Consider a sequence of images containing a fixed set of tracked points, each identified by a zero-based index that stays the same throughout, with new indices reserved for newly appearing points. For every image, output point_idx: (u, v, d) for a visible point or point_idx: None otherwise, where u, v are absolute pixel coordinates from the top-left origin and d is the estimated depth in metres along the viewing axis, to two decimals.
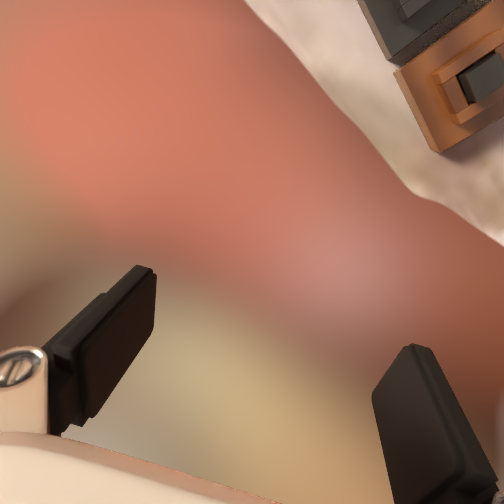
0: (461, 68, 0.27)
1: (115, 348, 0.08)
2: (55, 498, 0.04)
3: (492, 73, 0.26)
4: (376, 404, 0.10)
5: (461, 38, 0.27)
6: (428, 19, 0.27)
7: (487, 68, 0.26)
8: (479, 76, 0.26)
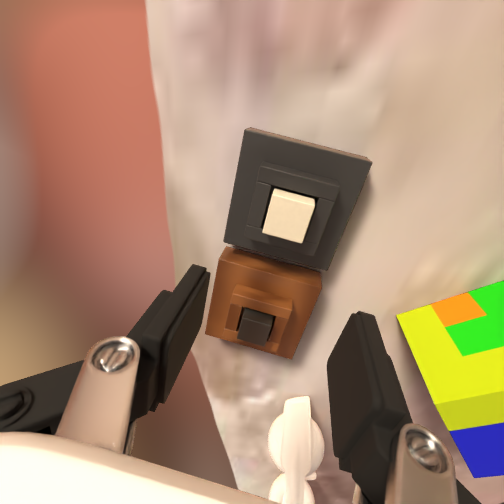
0: (249, 306, 0.26)
1: (182, 340, 0.09)
2: (55, 498, 0.04)
3: (257, 333, 0.26)
4: (329, 369, 0.11)
5: (272, 283, 0.27)
6: (265, 246, 0.26)
7: (257, 327, 0.26)
8: (249, 327, 0.26)
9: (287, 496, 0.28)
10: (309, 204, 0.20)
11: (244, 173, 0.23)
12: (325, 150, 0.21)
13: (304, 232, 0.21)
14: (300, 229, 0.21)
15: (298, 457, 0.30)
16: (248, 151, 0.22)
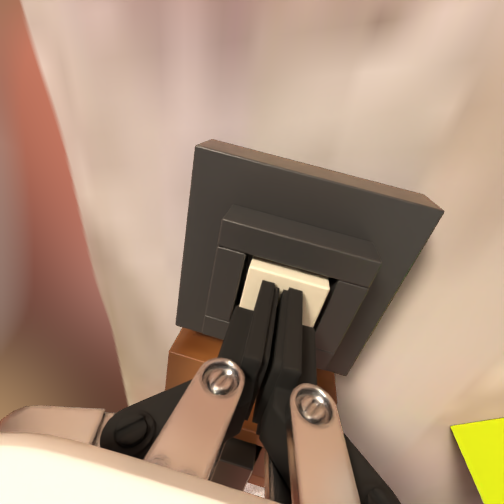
0: None
1: None
2: (55, 498, 0.04)
3: (231, 475, 0.16)
4: None
5: None
6: None
7: (229, 469, 0.16)
8: (216, 467, 0.16)
9: None
10: (319, 286, 0.11)
11: (200, 223, 0.13)
12: (351, 187, 0.11)
13: None
14: None
15: None
16: (205, 186, 0.12)
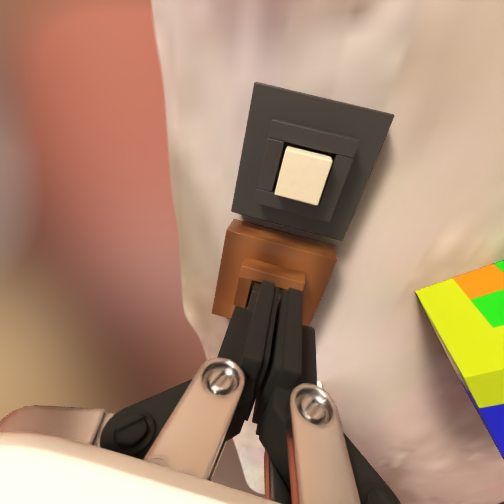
0: (259, 280, 0.25)
1: None
2: (55, 498, 0.04)
3: None
4: None
5: (283, 255, 0.25)
6: (276, 215, 0.24)
7: None
8: None
9: None
10: (326, 159, 0.19)
11: (253, 133, 0.21)
12: (342, 103, 0.20)
13: (320, 192, 0.20)
14: (315, 188, 0.19)
15: None
16: (259, 107, 0.21)
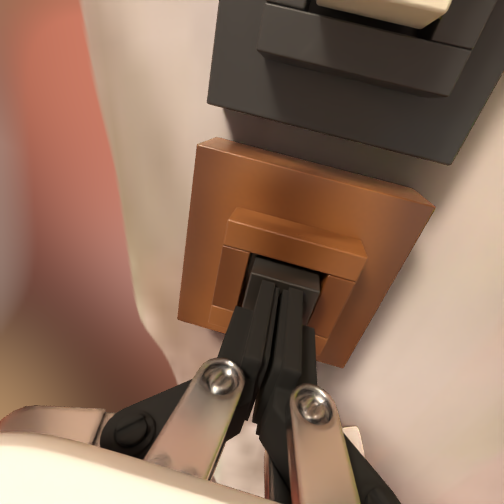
0: (265, 251, 0.12)
1: None
2: (55, 498, 0.04)
3: None
4: None
5: (317, 200, 0.12)
6: (306, 107, 0.11)
7: None
8: None
9: None
10: None
11: None
12: None
13: None
14: None
15: None
16: None
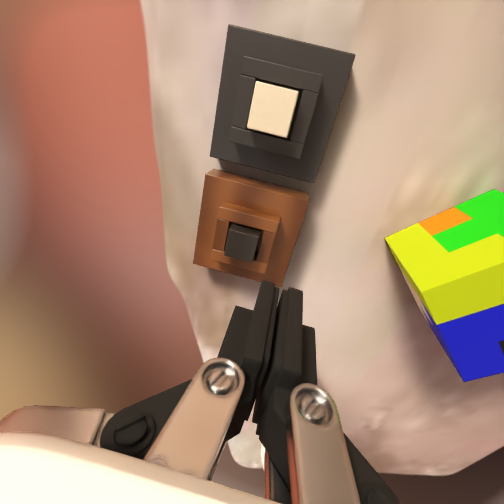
0: (236, 220, 0.26)
1: None
2: (55, 498, 0.04)
3: (245, 246, 0.26)
4: None
5: (259, 198, 0.27)
6: (252, 158, 0.26)
7: (244, 240, 0.26)
8: (236, 240, 0.26)
9: None
10: (292, 90, 0.20)
11: (229, 75, 0.23)
12: (308, 44, 0.21)
13: (288, 124, 0.21)
14: (284, 120, 0.21)
15: None
16: (233, 49, 0.22)
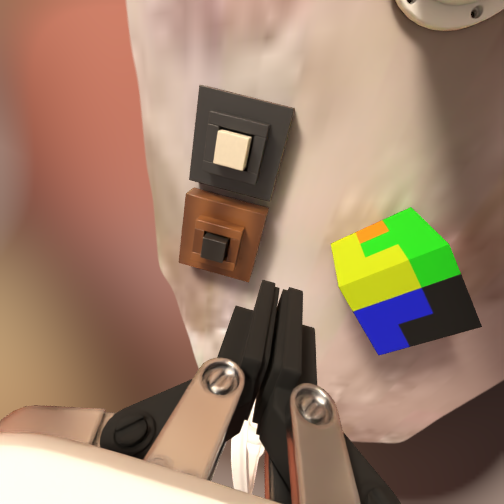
0: (209, 230, 0.34)
1: None
2: (55, 498, 0.04)
3: (216, 250, 0.33)
4: None
5: (228, 212, 0.34)
6: (221, 182, 0.33)
7: (215, 245, 0.33)
8: (209, 245, 0.33)
9: None
10: (244, 138, 0.27)
11: (201, 120, 0.30)
12: (259, 100, 0.29)
13: (243, 161, 0.28)
14: (239, 158, 0.28)
15: None
16: (203, 102, 0.29)
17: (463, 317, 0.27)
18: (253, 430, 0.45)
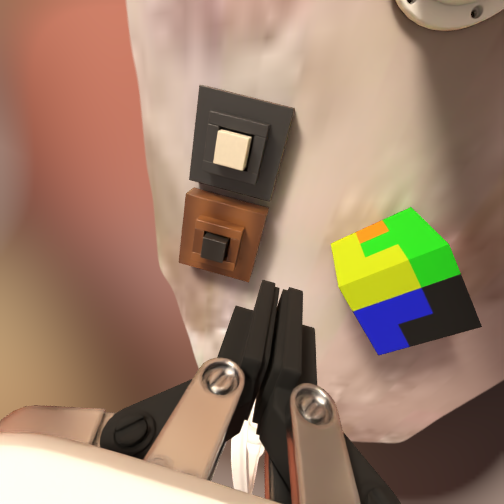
0: (209, 230, 0.34)
1: None
2: (55, 498, 0.04)
3: (216, 250, 0.33)
4: None
5: (228, 212, 0.34)
6: (221, 182, 0.33)
7: (215, 245, 0.33)
8: (209, 245, 0.33)
9: None
10: (244, 138, 0.27)
11: (201, 120, 0.30)
12: (259, 100, 0.29)
13: (243, 161, 0.28)
14: (239, 158, 0.28)
15: None
16: (203, 102, 0.29)
17: (463, 317, 0.27)
18: (253, 430, 0.45)
